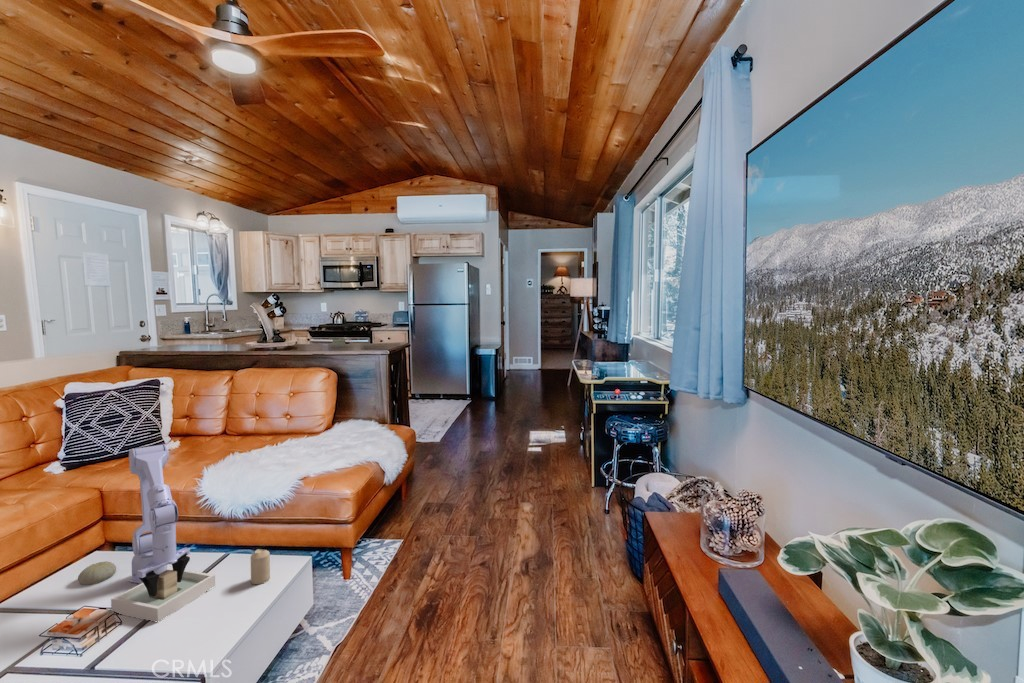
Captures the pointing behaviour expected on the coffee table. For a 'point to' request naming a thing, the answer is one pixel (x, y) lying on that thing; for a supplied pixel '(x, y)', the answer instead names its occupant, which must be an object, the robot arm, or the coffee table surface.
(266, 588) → the coffee table surface
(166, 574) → the peg
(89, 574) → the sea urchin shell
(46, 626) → the coffee table surface
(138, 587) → the tray
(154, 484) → the robot arm
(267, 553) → the candle
